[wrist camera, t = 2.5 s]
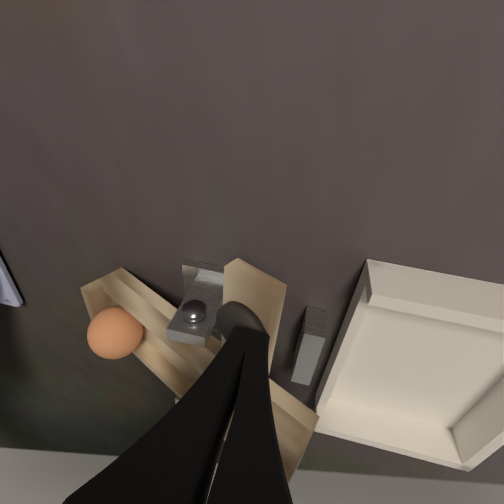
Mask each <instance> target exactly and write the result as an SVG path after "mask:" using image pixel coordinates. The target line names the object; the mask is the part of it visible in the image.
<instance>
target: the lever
mask: <svg viewBox="0 0 504 504" xmlns="http://www.w3.org/2000/svg"><path fill="white" fill-rule="evenodd" d="M286 288H287V285H286V284H284V283H282V282H280V281H279V280H277V279H275V278H273V277H271V276H270V275H268V274H266V273H264V272H262V271H261V270H259V269H257V268H255V267H253V266H252V265H250V264H248V263H246V262H244V261H243V260H241V259H239V258H236V259H235V260H233V261H232V262H230V263H229V264H227V265H226V266H224V285H223V306H222V307H220V308H219V309H218V311H217V314H216V321H217V325H218V328H219V330H220V332H221V334H222V339H221V342H220V341H219V340H218V339H216V338H215V337H214V336H212V335H210V337H209V339H208V342H207V344H206V347H205V348H202V347H198V346H194V345H190V344H186V343H182V342H178V341H173V340H169V339H168V338H167V330H166V328H167V327H168V325H169V323H170V322H171V320H172V318H173V316H174V315H175V313H176V311H177V309H176V308H175V307H174V306H172V305H171V304H170V303H168V302H167V301H166V300H164V299H163V298H162V297H161V296H159V295H158V294H157V293H155V292H154V291H153V290H151V289H150V288H149V287H147V286H146V285H145V284H143V283H142V282H141V281H139V280H138V279H137V278H135V277H134V276H133V275H131V274H130V273H129V272H127V271H126V270H125V269H123V268H120V269H118V270H116V271H114V272H112V273H110V274H107V275H105V276H103V277H101V278H99V279H97V280H95V281H93V282H91V283H89V284H87V285H85V286H83V287H81V288H80V289H81V292H82V295H83V298H84V301H85V304H86V307H87V310H88V313H89V316H90V319H91V321H92V320H93V318H94V317H95V316H96V315H97V314H98V313H100V312H101V311H103V310H105V309H107V308H110V307H115V306H121V307H123V308H124V309H125V310H126V311H127V312H129V313H130V314H131V315H132V316H133V317H134V318H136V319H137V320H138V321H139V322H140V323H141V324H142V325H143V335H142V339H141V341H140V343H139V345H138V346H137V348H136V349H135V350H134V351H133V352H132V353H133V354H134V355H135V356H136V357H137V358H139V359H140V360H141V361H142V362H143V363H144V364H145V365H146V366H147V367H148V368H149V369H150V370H151V371H152V372H153V373H154V374H155V375H156V376H157V377H158V378H160V379H161V380H162V381H163V382H164V383H165V384H166V385H167V386H168V387H169V388H170V389H171V390H172V391H173V392H174V393H175V394H176V395H177V396H178V397H179V398H182V397H183V396H184V395H185V393H186V392H187V391H188V390H189V389H190V388H191V386H192V385H193V384H194V383H195V382H196V381H197V379H198V378H199V377H200V376H201V375H202V373H203V372H204V371H205V370H206V368H207V367H208V366H209V364H210V363H211V362H212V360H213V359H214V358H215V356H216V355H217V354H218V352H219V351H220V349H221V348H222V346H223V345H224V343H225V342H226V340H227V339H228V337H229V335H230V334H231V332H232V330H233V328H234V327H236V326H237V327H242V328H246V329H250V330H255V331H259V332H263V333H268V334H269V336H270V340H269V349H268V371H269V373H270V368H271V363H272V358H273V353H274V348H275V343H276V338H277V333H278V328H279V323H280V318H281V313H282V308H283V303H284V298H285V293H286ZM269 384H270V395H271V403H272V410H273V417H274V423H275V429H276V434H277V439H278V444H279V449H280V454H281V458H282V463H283V467H284V472H285V475H286V479H287V483H288V482H289V481H290V479H291V477H292V476H293V474H294V472H295V471H296V469H297V467H298V465H299V464H300V462H301V459H302V457H303V455H304V452H305V450H306V448H307V445H308V443H309V441H310V438H311V436H312V434H313V431H314V429H315V427H316V424H317V422H318V420H319V417H320V416H318V415H317V414H316V413H314V412H313V411H312V410H311V409H309V408H308V407H307V406H305V405H304V404H303V403H301V402H300V401H299V400H297V399H296V398H295V397H293V396H292V395H291V394H289V393H288V392H287V391H285V390H284V389H283V388H281V387H280V386H279V385H277V384H276V383H275V382H273V381H272V380H271V379H269ZM233 413H234V412H233ZM232 416H233V415H232ZM231 420H232V417H231ZM231 420H230V423H231ZM230 423H229V426H228V429H227V432H226V435H225V437H224V440H226V437H227V434H228V430H229V427H230Z"/></svg>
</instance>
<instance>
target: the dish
mask: <svg viewBox="0 0 504 504" xmlns="http://www.w3.org/2000/svg"><path fill="white" fill-rule="evenodd" d="M315 413H316V414H317V415H318V416H320V417H319V420H318V422H317V424H316V427H315V429H314V431H316V432H320V433H324V434H328V435H331V436H335V437H339V438H343V439H346V440H350V441H354V442H358V443H362V444H365V445H369V446H373V447H377V448H380V449H384V450H388V451H392V452H396V453H399V454H403V455H407V456H411V457H414V458H418V459H422V460H426V461H429V462H433V463H437V464H441V465H445V466H448V467H452V468H456V469H460V470H463V471H467V472H469V471H471V470H472V469H473V468H474V467H476V466H477V465H478V464H479V463H481V462H482V461H483V460H485V459H486V458H487V457H488V456H490V455H491V454H492V453H494V452H495V451H496V450H497V449H499V448H500V447H501V446H502V445H504V285H502V284H497V283H492V282H486V281H481V280H476V279H471V278H465V277H460V276H455V275H449V274H444V273H439V272H433V271H428V270H423V269H418V268H412V267H407V266H402V265H396V264H391V263H386V262H380V261H375V260H370V259H367V260H366V263H365V265H364V268H363V270H362V273H361V276H360V278H359V281H358V284H357V286H356V289H355V292H354V294H353V297H352V300H351V302H350V305H349V307H348V310H347V313H346V315H345V318H344V321H343V323H342V326H341V329H340V331H339V334H338V336H337V339H336V342H335V344H334V347H333V350H332V352H331V355H330V358H329V360H328V363H327V366H326V368H325V371H324V373H323V376H322V379H321V381H320V384H319V387H318V389H317V392H316V396H315Z"/></svg>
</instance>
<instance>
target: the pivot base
mask: <svg viewBox="0 0 504 504" xmlns="http://www.w3.org/2000/svg"><path fill="white" fill-rule="evenodd" d="M182 271H183V286H184V299H183V301H182V303H181V304H180V306H179V308H178V309H177V311H176V313H175V315H174V316H173V318H172V320H171V322H170V323H169V325H168V327H167V328H166V330H167V338H168V339H169V340H173V341H178V342H182V343H186V344H190V345H194V346H198V347H202V348H205V347H206V344H207V342H208V339H209V337H210V335H212V336H214V337H215V338H216V339H218V340H219V341H220V342H221V339H222V334H221V332H220V330H219V328H218V325H217V321H216V314H217V311H218V309H219V308H220V307H222V306H223V285H224V267H223V266H218V265H213V264H208V263H203V262H198V261H193V260H188V259H186V260H185V261H184V263H183V264H182ZM325 337H326V310H321V309H317V308H312V307H307V308H306V311H305V315H304V319H303V323H302V327H301V330H300V334H299V338H298V342H297V345H296V349H295V353H294V360H293V368H292V377H291V381H292V382H296V383H300V384H304V385H308V386H309V385H310V382H311V379H312V376H313V373H314V370H315V367H316V364H317V361H318V359H319V356H320V353H321V350H322V347H323V344H324V341H325ZM180 399H181V398H179V397H178V396H176V398H175V403H177V402H178V401H179V400H180Z"/></svg>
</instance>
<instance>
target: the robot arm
mask: <svg viewBox="0 0 504 504" xmlns="http://www.w3.org/2000/svg"><path fill="white" fill-rule="evenodd" d="M0 303H2V304H6V305H11V306H15V307H19V306H21V305H22V304H23V301H22V299H21V297H20V295H19V293H18V291H17V289H16V287H15V285H14V283H13V281H12V279H11V277H10V274H9V272H8V270H7V268H6V266H5V264H4V262H3V260H2V258H1V256H0ZM269 340H270V336H269V334H268V333H263V332H259V331H255V330H250V329H246V328H242V327H237V326H236V327H234V328H233V330H232V332H231V334H230V335H229V337H228V339H227V340H226V342H225V343H224V345H223V346H222V348H221V349H220V351H219V352H218V354H217V355H216V356H215V358H214V359H213V360H212V362H211V363H210V364H209V366H208V367H207V368H206V370H205V371H204V372H203V373H202V375H201V376H200V377H199V378H198V379H197V381H196V382H195V383H194V384H193V385H192V386H191V388H190V389H189V390H188V391H187V392H186V393H185V395H184V396H183V397H182V398H181V399H180V400H179V401H178V402H177V403H176V404H175V405H174V406H173V407H172V408H171V409H170V411H169V412H168V413H167V414H166V415H165V416H164V417H163V418H162V419H161V420H159V421H158V422H157V423H156V424H155V425H154V426H153V427H152V428H151V429H150V430H149V431H148V432H147V433H146V434H145V435H144V436H143V437H141V438H140V439H139V440H138V441H137V442H136V443H135V444H133V445H132V446H131V447H130V448H129V449H128V450H126V451H125V452H124V453H123V454H122V455H120V456H119V457H118V458H117V459H116V460H115V461H114V462H112V463H111V464H110V465H109V466H107V467H106V468H105V469H104V470H102V471H101V472H100V473H98V474H97V475H96V476H95V477H93V478H92V479H91V480H89V481H88V482H87V483H86V484H84V485H83V486H81V487H80V488H79V489H78V490H76V491H75V492H74V493H72V494H71V495H70V496H69V497H67V498H66V500H65V501H64V502H63V503H62V504H293V502H292V498H291V495H290V491H289V487H288V483H287V479H286V475H285V472H284V467H283V463H282V458H281V454H280V449H279V444H278V439H277V434H276V429H275V423H274V417H273V410H272V403H271V395H270V384H269V371H268V349H269ZM233 412H234V413H233ZM232 415H233V416H232ZM231 417H232V420H231ZM230 420H231V423H230ZM229 423H230V427H229V430H228V434H227V437H226V440H225V444H224V447H223V450H222V454H221V457H220V460H219V464H218V467H217V470H216V474H215V477H214V480H213V483H212V487H211V490H210V493H209V489H210V485H211V482H212V477H213V474H214V470H215V466H216V463H217V459H218V456H219V452H220V449H221V446H222V443H223V440H224V437H225V435H226V432H227V429H228V426H229ZM208 493H209V496H208ZM207 497H208V500H207ZM206 501H207V503H206Z"/></svg>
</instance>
